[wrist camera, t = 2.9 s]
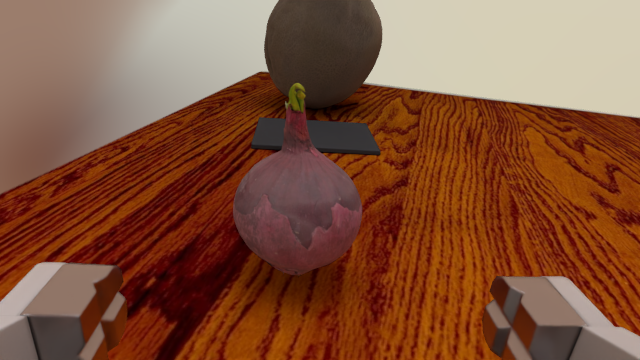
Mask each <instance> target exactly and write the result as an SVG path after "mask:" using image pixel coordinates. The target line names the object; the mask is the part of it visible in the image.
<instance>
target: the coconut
mask: <svg viewBox="0 0 640 360" xmlns="http://www.w3.org/2000/svg"><path fill="white" fill-rule="evenodd" d="M381 43H382V26H381V20H380V17H379V15H378V13H377V11H376V9H375V7H374V5H373V3H372V2H371V0H279V1H278V3H277V4H276V6H275V7H274V9H273V11H272V13H271V15H270V17H269V20H268V23H267V30H266V37H265V47H264V48H265V49H264V51H265V59H266V64H267V67H268V70H269V73H270V76H271V78H272V80H273V82H274V84H275V85H276V87H277V88H278V89H279V90H280V92H281V93H283V94H284V95H285V96H287V97H289V91H290V88H291V87H292V86H293V84H295V83H299V84H301V85H302V86H303V87H304V89H305V92H303V91H302V90H301V91H302V92H303V93H304V94H305V98H304V102H305V107H307V108H311V109H320V108H325V107H329V106H332V105H335V104H338V103H340V102H342V101H343V100H345V99H347V98H348V97H349V96H351V95H352V94H353V93H354V92H355V91H357V89H358V88H359V87H360V86H361V85H362V84H363V82H364V81H365V80H366V78H367V77H368V75H369V74H370V72H371V70H372V69H373V67H374V65H375V63H376V60H377V58H378V55H379V52H380V48H381ZM299 90H300V89H296V90H295V91H296V93H297V92H298V91H299Z"/></svg>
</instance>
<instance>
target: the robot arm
mask: <svg viewBox="0 0 640 360" xmlns="http://www.w3.org/2000/svg"><path fill="white" fill-rule="evenodd" d="M122 284H123V277H122V271H121V268H119V267H118V266H117V265H103V264H83V263H58V262H43V263H39V264H37V265H36V266H35V267H34V268H33V269H32V270H31V271H30V272H29V273H28V274H27V275H26V276H25V277H24V278H23V279H22V280H21V281H20V282H19V283H18V284H17V285H16V286H15V287H14V288H13V289H12V290H11V291H10V292H9V293H8V294H7V295H6V297H5V298H4V299H3V300H2V301H1V302H0V360H109V358H108V351H110V350H111V349H113V348H114V347H115V346H117V345H118V344H119V342H120V340H121V338H122V335H123V333H124V329H125V325H126V321H127V303H126V299H125V298H124V297H123V296H122V295H121V294H120V293H119V292H118V290H119V289H120V287H121V285H122ZM490 292H491V294H492V296H493V298H494V300H492V301H491V302H490V303H489V304H488V305H487V306H486V307H485V310H484V314H483V318H482V324H483V334H484V337H485V340H486V343H487V344H488V346H489V348H490V350H491V351H492V352H494V353H495V354H496V355H498V356H499V357H500V358H502V359H501V360H640V336H638V335H636V334H634V333H632V332H630V331H628V330H626V329H624V328H622V327H614V326H613V325H612V324H611V322H610V321H609V320H608V319H607V318H606V317H605V316H604V315H603V314H602V313H601V312H600V311H599V310H598V309H597V308H596V307H595V306H594V305H593V304H592V303H591V302H590V300H589V299H588V298H587V297H586V296H585V295H584V294H583V293H582V292H581V291H580V290H579V289H578V288H577V287H576V286H575V285H574V284H573V283H572V282H571V281H570V280H569V279H567V278H565V277H563V276H541V277H513V276H497V277H496V278H495V279H494V281H493V282H492V285H491V289H490Z"/></svg>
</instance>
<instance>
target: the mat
mask: <svg viewBox="0 0 640 360" xmlns="http://www.w3.org/2000/svg"><path fill="white" fill-rule="evenodd" d="M285 121H286V119H278V118H259V121H258V124H257V128H256V131H255V134H254V138H253V141H252V147H251V148H256V149H275V150H281V149H282V145H283V140H284V128H285ZM306 123H307V128H308V132H309V136H310V139H311V142H312V144H313V146H314V147H315V148H316V149H317V150H318V151H319V152H334V153H353V154H373V155H380V149H379V148H378V146H377V144H376V142H375V140H374V138H373V136H372V134H371V132H370V130H369V128H368V126H367V124H366V123H348V122H330V121H313V120H306Z"/></svg>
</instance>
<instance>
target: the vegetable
mask: <svg viewBox="0 0 640 360" xmlns="http://www.w3.org/2000/svg"><path fill="white" fill-rule="evenodd" d="M296 89H300V90H299V91H298V92H297V93H296V91H295V90H296ZM301 90H302V91H303V92H305V89H304V87H303V86H302V85H301V84H299V83H295V84H293V86H292V87H291V88H290V91H289V102H288V103H286V102H285V107H286V121H285V128H284V140H283V145H282V149H281V150H280V151H279V152H277V153H274V154H272V155H270V156H269V157H266V158H264V159H263V160H261V161H260V162H258V163H257V164H256V165H254V166H253V167H252V169H251V170H250V171H249V172H248V173H247V174H246V175H245V177H244V178H243V179H242V181H241V183H240V184H239V186H238V188H237V191H236V194H235V198H234V206H233V214H234V220H235V224H236V227H237V229H238V231H239V233H240V235H241V237H242V238H243V240H244V241H245V243H246V244H247V246H248V247H249V248H250V249H251V250H252V251H253V252H254V253H255V254H256V255H258V256H259V257H260V258H262V259H263V260H265V261H266V262H267V263H268V264H270V265H271V266H273V267H275V268H276V269H278V270H280V271H282V272H285V273H287V274H291V275H300V276H301V274H305V273H307V272H309V271H311V270H313V269H316V268H319V267H322V266H326V265H329V264H330V263H332V262H334V261H335V260H336V259H338V258H339V257H340V256H341V255H343V254H344V253H345V252H346V251H347V250H348V249H349V247H350V246H351V245H352V243H353V241H354V240H355V238H356V236H357V233H358V231H359V228H360V223H361V217H362V205H361V201H360V197H359V194H358V191H357V189H356V187H355V185H354V183H353V182H352V180H351V179H350V177H349V176H348V175H347V174H346V173H345V172H344V171H343V170H342V169H341V168H340V167H339V166H337V165H336V164H335V163H334V162H332V161H331V160H330V159H328V158H327V157H326V156H325V155H323V154H322V153H320V152H319V151H318V150H317V149H316V148H315V147H314V146H313V144H312V142H311V139H310V136H309V132H308V128H307V123H306V113H305V102H304V98H305V94H304V93H303V92H302V91H301Z"/></svg>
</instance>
